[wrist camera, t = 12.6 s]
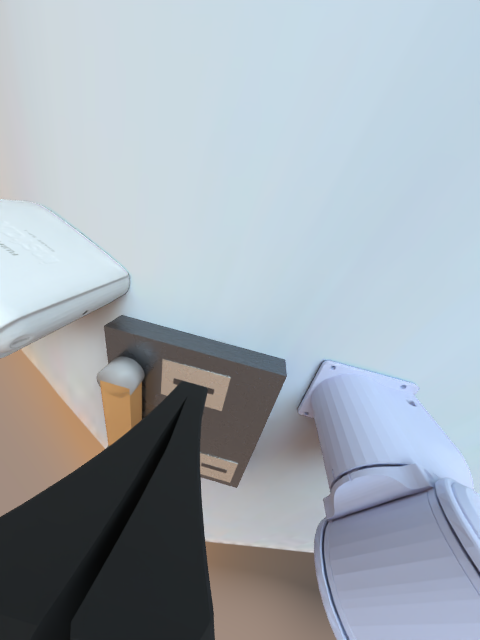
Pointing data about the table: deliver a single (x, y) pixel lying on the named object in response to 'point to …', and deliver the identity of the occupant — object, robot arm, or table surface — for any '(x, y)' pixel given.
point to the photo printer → (48, 275)
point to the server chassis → (209, 371)
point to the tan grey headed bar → (121, 396)
